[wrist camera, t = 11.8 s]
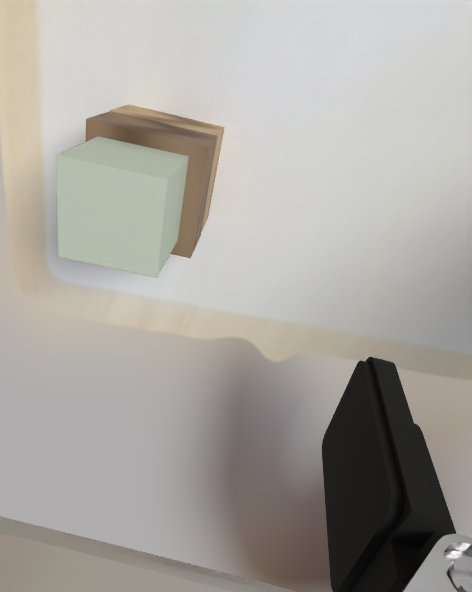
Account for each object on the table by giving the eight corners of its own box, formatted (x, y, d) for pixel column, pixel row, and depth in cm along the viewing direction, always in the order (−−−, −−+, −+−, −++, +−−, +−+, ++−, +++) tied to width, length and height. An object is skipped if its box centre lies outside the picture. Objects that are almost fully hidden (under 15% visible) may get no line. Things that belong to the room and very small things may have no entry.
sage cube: (188, 156, 28) (167, 179, 23) (177, 240, 31) (156, 277, 26) (98, 136, 28) (56, 155, 23) (95, 222, 31) (58, 256, 26)
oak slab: (224, 126, 35) (217, 135, 31) (207, 217, 39) (199, 235, 35) (129, 104, 35) (110, 110, 31) (122, 197, 39) (104, 213, 35)
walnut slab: (217, 136, 31) (208, 147, 27) (200, 235, 35) (190, 258, 31) (110, 111, 31) (86, 119, 27) (105, 214, 35) (83, 234, 31)
